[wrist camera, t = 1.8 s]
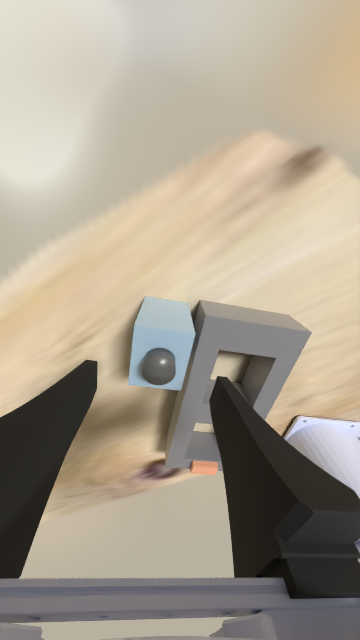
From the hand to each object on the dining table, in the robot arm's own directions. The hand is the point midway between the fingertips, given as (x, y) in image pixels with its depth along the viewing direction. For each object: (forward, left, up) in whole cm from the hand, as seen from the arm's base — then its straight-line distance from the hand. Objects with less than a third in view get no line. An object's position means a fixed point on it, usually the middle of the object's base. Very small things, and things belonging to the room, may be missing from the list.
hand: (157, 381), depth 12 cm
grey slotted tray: (-8, +7, -8) cm, 13 cm away
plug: (0, 0, -8) cm, 8 cm away
